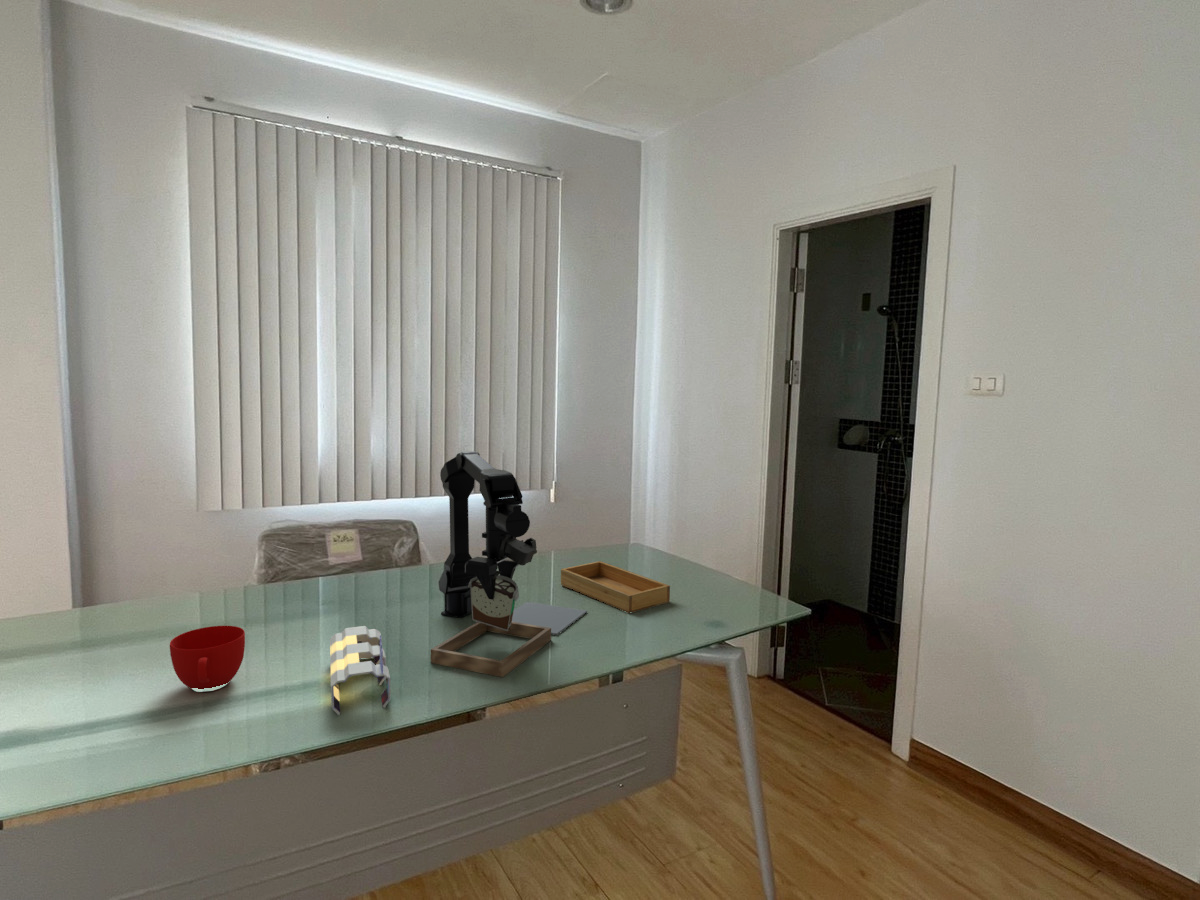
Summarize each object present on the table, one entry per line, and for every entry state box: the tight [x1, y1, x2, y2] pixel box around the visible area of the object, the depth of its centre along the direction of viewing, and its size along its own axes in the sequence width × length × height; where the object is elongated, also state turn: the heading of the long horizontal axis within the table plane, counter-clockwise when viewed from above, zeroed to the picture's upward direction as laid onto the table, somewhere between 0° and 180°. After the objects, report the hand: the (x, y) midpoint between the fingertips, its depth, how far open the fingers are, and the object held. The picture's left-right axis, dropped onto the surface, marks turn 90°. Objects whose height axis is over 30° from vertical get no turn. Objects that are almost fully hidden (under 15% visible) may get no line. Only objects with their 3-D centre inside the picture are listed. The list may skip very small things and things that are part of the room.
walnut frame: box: [430, 622, 552, 678], centre depth 154 cm, size 18×22×3 cm
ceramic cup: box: [169, 625, 246, 689], centre depth 134 cm, size 13×17×10 cm
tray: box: [560, 560, 671, 614], centre depth 196 cm, size 31×15×6 cm, turn 39°
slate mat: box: [512, 601, 588, 636], centre depth 175 cm, size 18×18×1 cm
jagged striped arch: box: [329, 625, 392, 715], centre depth 137 cm, size 25×10×13 cm, turn 22°
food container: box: [468, 574, 520, 631], centre depth 156 cm, size 12×6×10 cm, turn 69°
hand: (498, 595), depth 156 cm, fingers closed on food container, 6 cm apart
